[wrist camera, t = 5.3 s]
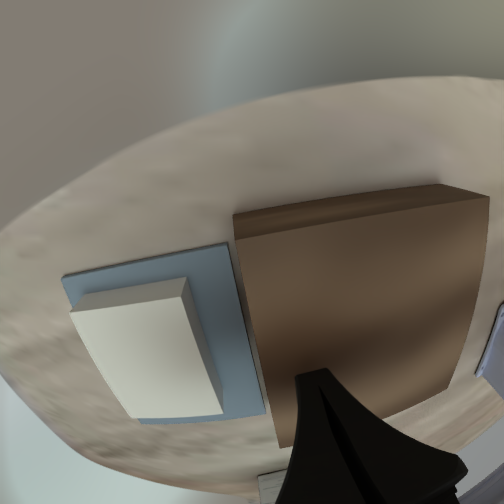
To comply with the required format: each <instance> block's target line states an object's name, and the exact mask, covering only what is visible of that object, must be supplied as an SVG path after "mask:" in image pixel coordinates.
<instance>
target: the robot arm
mask: <svg viewBox="0 0 504 504" xmlns="http://www.w3.org/2000/svg"><path fill="white" fill-rule="evenodd" d="M481 375H482V376H483V377H484V378H485V379H486V380H487V381H488V382H489V384H490V385H491V386H492V387H493V388H494V389H495V390H496V391H497V393H498V394H499V395H500V396H501V397H502V398H503V400H504V304H502V305H501V307H500V309H499V312H498V315H497V319H496V322H495V325H494V328H493V331H492V334H491V337H490V339H489V342H488V345H487V347H486V350H485V353H484V355H483V358H482V360H481V362H480V365H479V367H478V369H477V372H476V374H475V376H476V377H479V376H481ZM294 379H295V388H296V398H297V405H298V412H297V425H296V432H295V439H294V445H293V449H292V454H291V458H290V462H289V465H288V469H287V472H286V475H285V479H284V481H283V484H282V487H281V489H280V492H279V494H278V497H277V499H276V502H275V504H504V463H503V464H502V465H500V466H499V467H498V468H497V469H496V470H495V471H493V472H492V473H491V474H490V475H489V476H487V477H486V478H485V479H484V480H482V481H481V482H480V483H478V484H477V485H476V486H474V487H473V488H472V489H470V490H469V491H467V492H466V493H465V494H463V495H462V496H460V497H459V498H457V497H456V495H455V493H456V492H457V489H456V487H455V485H456V484H457V483H458V482H459V481H460V480H461V479H462V478H464V476H466V475H467V473H468V469H467V467H466V466H465V464H464V463H463V461H462V460H461V459H460V458H459V457H458V455H456V454H452V453H449V452H445V451H442V450H439V449H436V448H434V447H431V446H429V445H426V444H424V443H421V442H419V441H417V440H415V439H413V438H411V437H409V436H407V435H405V434H403V433H401V432H400V431H398V430H396V429H395V428H393V427H392V426H390V425H389V424H387V423H386V422H384V421H383V420H381V419H380V418H379V417H377V416H376V415H375V414H373V413H372V412H371V411H370V410H368V409H367V408H366V407H365V406H364V405H362V404H361V403H360V402H359V401H358V400H357V399H356V398H355V397H354V396H353V395H352V394H351V393H350V392H349V391H348V390H347V389H346V388H345V387H344V386H343V385H342V384H341V383H340V382H339V381H338V380H337V379H336V377H335V376H334V375H333V374H332V373H331V371H330V370H329V369H328V368H322V369H318V370H314V371H310V372H306V373H302V374H297V375H296V376H295V377H294Z"/></svg>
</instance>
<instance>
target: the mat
mask: <svg viewBox="0 0 504 504" xmlns="http://www.w3.org/2000/svg"><path fill="white" fill-rule="evenodd" d="M182 277H187V280H188V283H189V287H190V290H191V294H192V297H193V300H194V304H195V307H196V310H197V314H198V317H199V320H200V323H201V327H202V330H203V333H204V336H205V339H206V342H207V345H208V348H209V351H210V354H211V357H212V360H213V363H214V366H215V369H216V371H217V374H218V377H219V380H220V383H221V385H222V388H223V408H224V414H217V415H207V416H194V417H177V418H137V419H138V420H139V421H140V423H141V424H180V423H197V422H209V421H219V420H228V419H236V418H243V417H250V416H256V415H262V414H266V411H265V406H264V402H263V398H262V394H261V390H260V386H259V382H258V378H257V374H256V370H255V365H254V361H253V357H252V353H251V349H250V344H249V340H248V336H247V331H246V327H245V323H244V318H243V314H242V309H241V305H240V300H239V296H238V291H237V287H236V282H235V278H234V273H233V268H232V264H231V259H230V254H229V249H228V245H227V243H222V244H217V245H212V246H206V247H201V248H196V249H191V250H186V251H181V252H176V253H171V254H166V255H161V256H156V257H151V258H146V259H142V260H137V261H132V262H127V263H122V264H118V265H113V266H108V267H103V268H99V269H94V270H89V271H85V272H80V273H75V274H71V275H66V276H63V277H62V278H61V281H62V284H63V286H64V289H65V291H66V294H67V296H68V298H69V301H70V303H71V305H72V307H74V306H75V305H76V304H77V303H78V301H79V300H80V299H81V298H82V297H83V296H84V295H85V294H89V293H95V292H101V291H107V290H113V289H119V288H125V287H131V286H136V285H142V284H148V283H154V282H160V281H165V280H171V279H177V278H182Z"/></svg>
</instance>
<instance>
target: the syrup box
mask: <svg viewBox="0 0 504 504" xmlns="http://www.w3.org/2000/svg"><path fill="white" fill-rule="evenodd" d="M286 472H287V470H283V471H279V472H275V473H271V474H266V475H261V476H258V486H259V495H260V504H275V502H276V499H277V497H278V494H279V492H280V489H281V487H282V484H283V481H284V479H285V475H286Z"/></svg>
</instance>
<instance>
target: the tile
mask: <svg viewBox="0 0 504 504" xmlns="http://www.w3.org/2000/svg"><path fill="white" fill-rule="evenodd" d="M69 314H70V316H71V318H72V321H73V323H74V325H75V327H76V329H77V331H78V333H79V335H80V337H81V339H82V341H83V342H84V344H85V346H86V348H87V350H88V352H89V353H90V355H91V357H92V359H93V361H94V362H95V364H96V366H97V367H98V369H99V371H100V372H101V374H102V376H103V377H104V379H105V380H106V382H107V384H108V385H109V387H110V388H111V390H112V391H113V393H114V394H115V396H116V397H117V399H118V400H119V402H120V403H121V405H122V406H123V407H124V409H125V410H126V412H127V413H128V414H129V416H130V417H131V418H177V417H194V416H207V415H217V414H224V408H223V388H222V385H221V383H220V380H219V377H218V374H217V371H216V369H215V366H214V363H213V360H212V357H211V354H210V351H209V348H208V345H207V342H206V339H205V336H204V333H203V330H202V327H201V323H200V320H199V317H198V314H197V310H196V307H195V304H194V300H193V297H192V294H191V290H190V287H189V283H188V280H187V277H182V278H177V279H171V280H165V281H160V282H154V283H148V284H142V285H136V286H131V287H125V288H119V289H113V290H107V291H101V292H95V293H89V294H85V295H84V296H83V297H82V298H81V299H80V300H79V301H78V303H77V304H76V305H75V306H74V307H73V308H72V310H71V311H70V312H69Z"/></svg>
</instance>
